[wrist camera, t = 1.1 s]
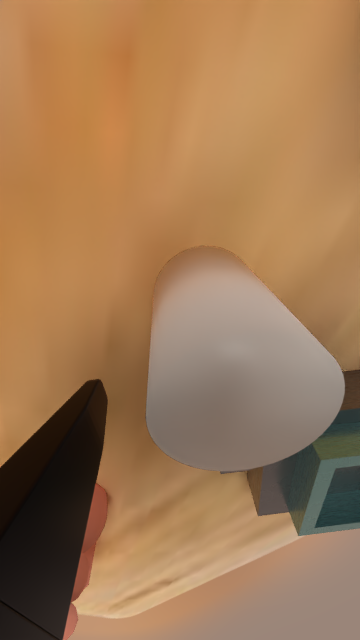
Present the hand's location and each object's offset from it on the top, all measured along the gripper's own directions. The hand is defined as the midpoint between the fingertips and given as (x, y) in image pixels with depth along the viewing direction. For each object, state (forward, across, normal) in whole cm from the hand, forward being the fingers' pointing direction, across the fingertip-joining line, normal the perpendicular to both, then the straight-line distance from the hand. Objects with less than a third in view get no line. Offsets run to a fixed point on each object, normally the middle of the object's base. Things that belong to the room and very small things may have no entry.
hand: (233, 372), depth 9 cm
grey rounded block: (+6, 0, 0) cm, 6 cm away
